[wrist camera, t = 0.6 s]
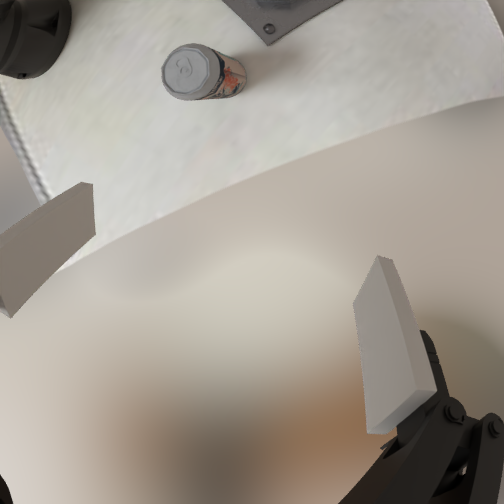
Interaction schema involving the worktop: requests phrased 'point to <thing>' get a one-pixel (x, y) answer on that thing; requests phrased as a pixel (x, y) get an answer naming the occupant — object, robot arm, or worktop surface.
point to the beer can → (201, 73)
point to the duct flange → (277, 15)
